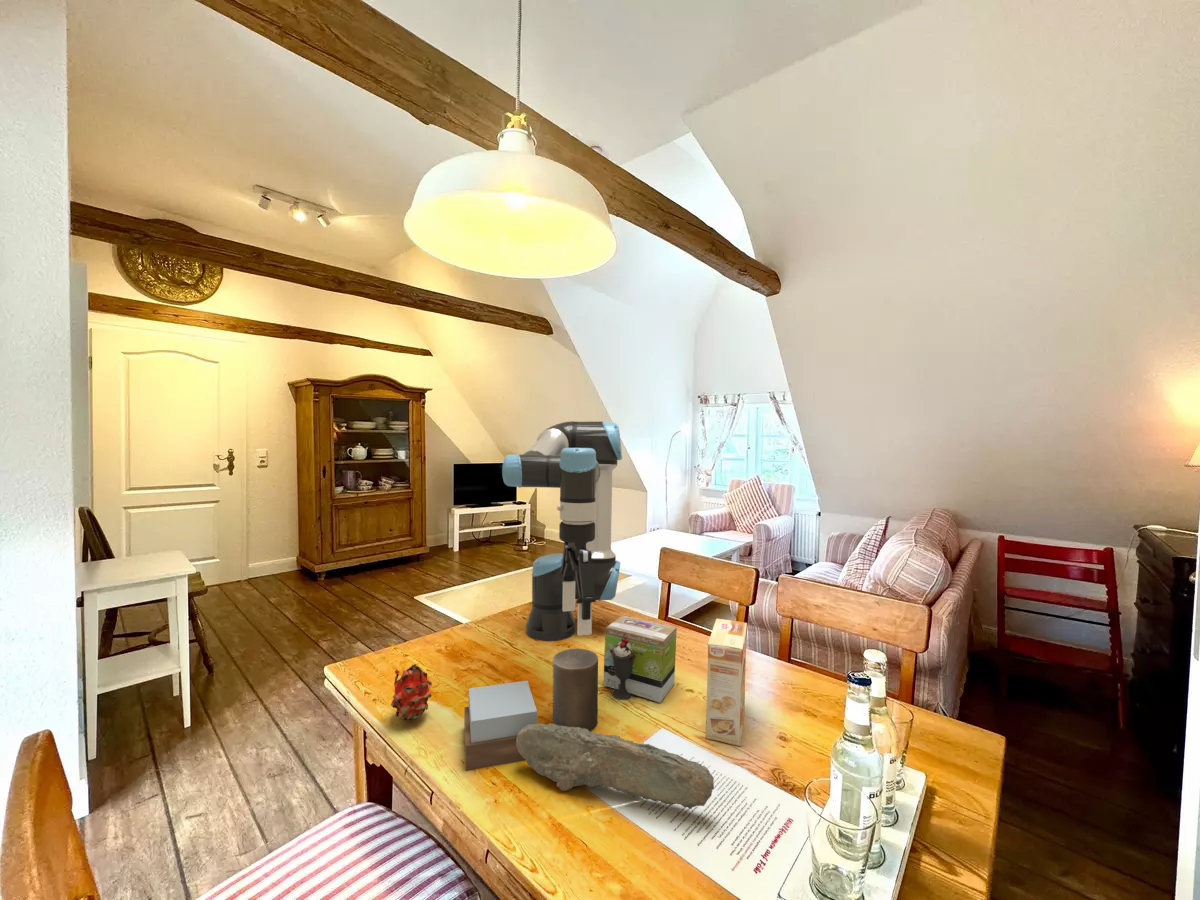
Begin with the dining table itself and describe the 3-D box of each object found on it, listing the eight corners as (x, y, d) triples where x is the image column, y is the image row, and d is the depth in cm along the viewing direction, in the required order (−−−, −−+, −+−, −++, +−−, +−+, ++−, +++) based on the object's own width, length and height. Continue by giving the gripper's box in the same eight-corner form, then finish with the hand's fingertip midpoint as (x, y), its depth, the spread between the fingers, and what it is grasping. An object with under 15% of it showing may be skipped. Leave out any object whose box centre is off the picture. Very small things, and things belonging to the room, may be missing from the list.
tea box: (602, 687, 116) (603, 626, 116) (619, 670, 125) (621, 613, 125) (661, 704, 110) (663, 639, 109) (675, 685, 119) (677, 625, 118)
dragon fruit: (379, 727, 100) (379, 670, 100) (405, 705, 108) (405, 652, 108) (415, 734, 98) (415, 676, 97) (439, 711, 106) (439, 657, 106)
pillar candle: (606, 725, 102) (607, 654, 101) (566, 741, 96) (567, 666, 96) (582, 703, 110) (582, 638, 110) (543, 717, 104) (544, 648, 104)
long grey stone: (714, 805, 80) (715, 746, 80) (712, 830, 75) (713, 767, 75) (521, 762, 90) (521, 709, 90) (507, 781, 85) (508, 725, 85)
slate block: (468, 707, 100) (468, 688, 100) (527, 699, 103) (527, 680, 103) (471, 743, 88) (471, 721, 88) (536, 732, 92) (537, 711, 92)
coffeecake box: (741, 747, 95) (743, 649, 95) (704, 738, 98) (706, 643, 97) (746, 707, 109) (748, 621, 109) (713, 701, 112) (715, 617, 111)
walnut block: (464, 731, 100) (464, 707, 100) (527, 721, 104) (527, 698, 104) (466, 773, 88) (466, 746, 87) (537, 760, 91) (537, 734, 91)
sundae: (617, 704, 110) (619, 638, 109) (603, 690, 115) (605, 627, 115) (642, 697, 113) (644, 633, 112) (627, 684, 119) (629, 623, 118)
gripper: (548, 512, 113) (547, 603, 113) (574, 533, 89) (572, 648, 89) (579, 511, 115) (578, 600, 115) (613, 531, 91) (611, 643, 92)
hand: (576, 621), depth 102 cm, fingers open, 13 cm apart
